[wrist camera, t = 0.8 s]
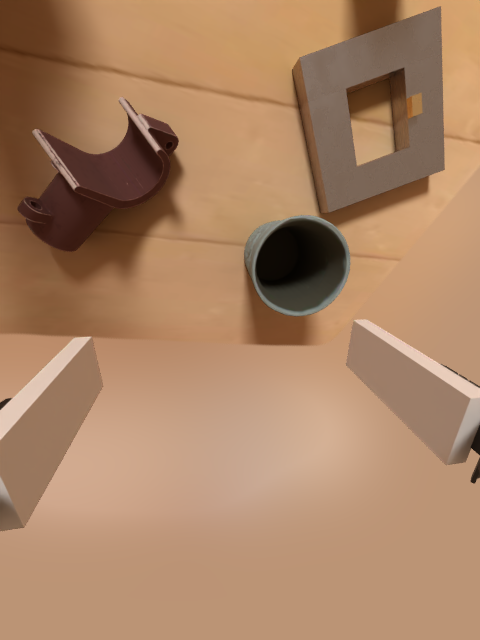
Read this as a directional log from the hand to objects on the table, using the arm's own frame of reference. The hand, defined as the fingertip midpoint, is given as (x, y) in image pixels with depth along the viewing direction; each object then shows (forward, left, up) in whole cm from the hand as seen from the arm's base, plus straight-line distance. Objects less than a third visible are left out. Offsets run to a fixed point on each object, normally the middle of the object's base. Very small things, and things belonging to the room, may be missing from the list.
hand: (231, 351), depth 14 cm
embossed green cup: (+1, +9, -26) cm, 27 cm away
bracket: (-14, -7, -26) cm, 30 cm away
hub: (-10, +25, -25) cm, 37 cm away
